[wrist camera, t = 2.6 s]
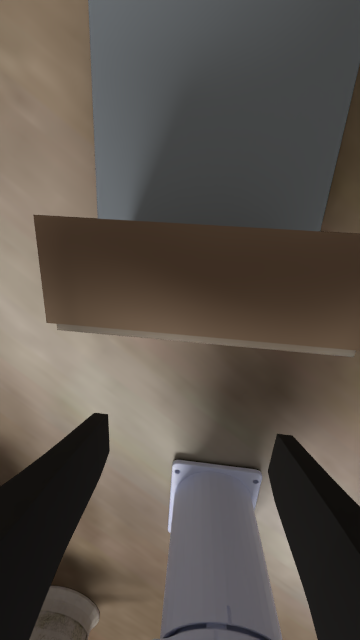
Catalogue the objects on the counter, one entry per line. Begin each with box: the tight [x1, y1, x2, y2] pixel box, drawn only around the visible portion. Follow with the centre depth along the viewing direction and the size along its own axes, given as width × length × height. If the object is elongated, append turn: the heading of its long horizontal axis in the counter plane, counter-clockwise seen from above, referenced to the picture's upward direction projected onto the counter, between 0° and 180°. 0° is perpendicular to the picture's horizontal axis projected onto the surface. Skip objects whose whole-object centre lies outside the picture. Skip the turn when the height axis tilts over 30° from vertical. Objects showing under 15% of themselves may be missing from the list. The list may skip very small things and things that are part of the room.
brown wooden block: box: [34, 215, 360, 357], centre depth 10 cm, size 4×10×9 cm, turn 86°
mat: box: [88, 0, 360, 231], centre depth 12 cm, size 11×14×1 cm
